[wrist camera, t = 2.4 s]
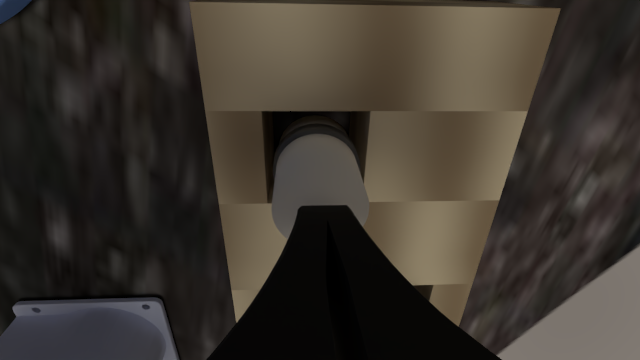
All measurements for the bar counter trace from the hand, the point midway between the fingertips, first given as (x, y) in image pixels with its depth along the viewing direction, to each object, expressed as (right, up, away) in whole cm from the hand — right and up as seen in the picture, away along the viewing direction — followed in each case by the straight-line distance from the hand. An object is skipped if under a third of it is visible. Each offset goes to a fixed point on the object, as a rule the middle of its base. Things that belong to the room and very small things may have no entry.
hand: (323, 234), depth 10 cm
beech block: (+1, +1, +11) cm, 11 cm away
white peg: (0, +3, +5) cm, 6 cm away
